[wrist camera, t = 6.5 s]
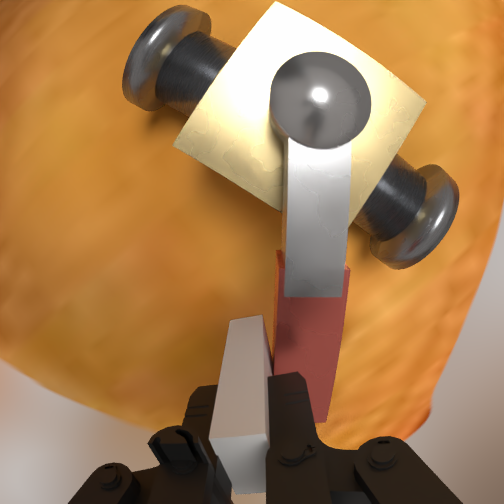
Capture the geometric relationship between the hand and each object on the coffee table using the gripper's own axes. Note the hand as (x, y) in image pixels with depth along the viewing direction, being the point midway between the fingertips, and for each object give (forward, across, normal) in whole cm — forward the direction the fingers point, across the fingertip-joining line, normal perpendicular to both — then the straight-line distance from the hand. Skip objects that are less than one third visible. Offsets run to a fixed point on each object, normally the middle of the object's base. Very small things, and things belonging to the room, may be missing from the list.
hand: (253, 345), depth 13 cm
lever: (+1, +3, +3) cm, 5 cm away
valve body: (+9, +4, +9) cm, 13 cm away
